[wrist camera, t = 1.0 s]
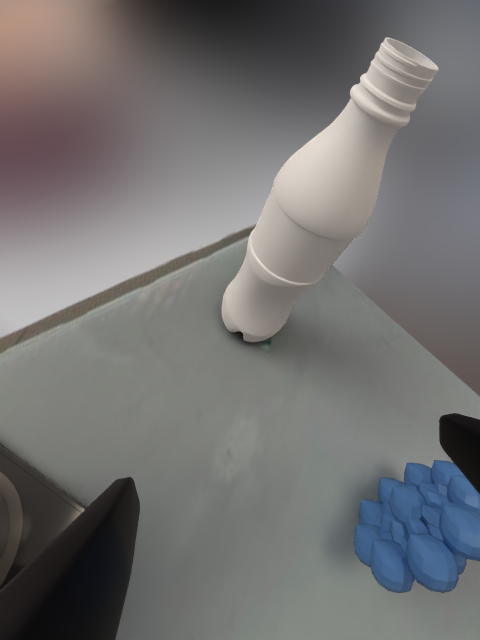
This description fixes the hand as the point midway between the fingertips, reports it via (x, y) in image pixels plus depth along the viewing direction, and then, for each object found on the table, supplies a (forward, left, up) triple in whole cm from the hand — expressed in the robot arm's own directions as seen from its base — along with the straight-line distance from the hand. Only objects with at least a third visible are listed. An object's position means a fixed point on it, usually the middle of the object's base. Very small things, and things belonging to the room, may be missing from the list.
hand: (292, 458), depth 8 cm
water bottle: (+17, +4, -19) cm, 26 cm away
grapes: (+6, -16, -19) cm, 26 cm away
